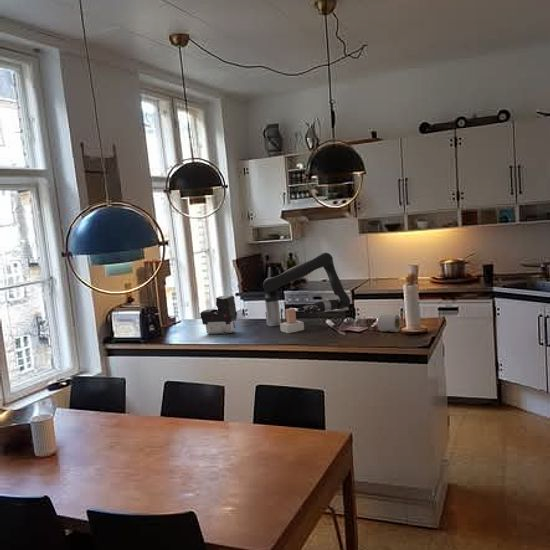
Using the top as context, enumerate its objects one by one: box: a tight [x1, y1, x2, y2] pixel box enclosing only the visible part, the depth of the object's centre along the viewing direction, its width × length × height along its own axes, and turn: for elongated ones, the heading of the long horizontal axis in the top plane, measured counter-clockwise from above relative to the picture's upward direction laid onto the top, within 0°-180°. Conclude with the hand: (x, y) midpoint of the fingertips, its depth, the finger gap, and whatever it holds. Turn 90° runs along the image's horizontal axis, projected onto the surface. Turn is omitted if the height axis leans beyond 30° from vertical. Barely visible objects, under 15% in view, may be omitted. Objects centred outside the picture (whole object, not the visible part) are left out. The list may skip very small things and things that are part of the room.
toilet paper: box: [377, 314, 402, 333], centre depth 330 cm, size 10×10×10 cm
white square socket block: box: [279, 319, 305, 334], centre depth 357 cm, size 12×10×6 cm
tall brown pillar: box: [285, 307, 297, 324], centre depth 356 cm, size 5×4×14 cm
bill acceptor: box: [199, 294, 238, 335], centre depth 375 cm, size 10×23×25 cm, turn 70°
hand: (301, 310), depth 359 cm, fingers open, 8 cm apart
